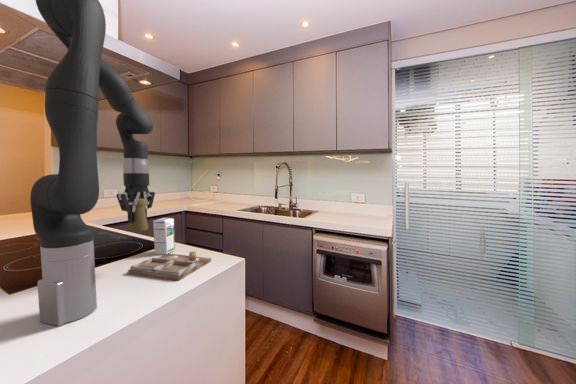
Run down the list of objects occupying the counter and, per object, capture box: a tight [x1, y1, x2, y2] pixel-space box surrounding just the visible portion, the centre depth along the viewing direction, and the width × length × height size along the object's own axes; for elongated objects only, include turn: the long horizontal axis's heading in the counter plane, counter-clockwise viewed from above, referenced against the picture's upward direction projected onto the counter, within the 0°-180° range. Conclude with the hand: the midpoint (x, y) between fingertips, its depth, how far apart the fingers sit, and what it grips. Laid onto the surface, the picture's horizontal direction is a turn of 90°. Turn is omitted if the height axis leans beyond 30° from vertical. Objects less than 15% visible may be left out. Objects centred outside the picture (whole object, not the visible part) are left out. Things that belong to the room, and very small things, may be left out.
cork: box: [127, 198, 149, 232], centre depth 83 cm, size 6×6×11 cm
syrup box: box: [152, 217, 176, 255], centre depth 103 cm, size 6×6×14 cm
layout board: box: [127, 251, 212, 281], centre depth 87 cm, size 18×20×4 cm
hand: (137, 221), depth 84 cm, fingers closed on cork, 4 cm apart
